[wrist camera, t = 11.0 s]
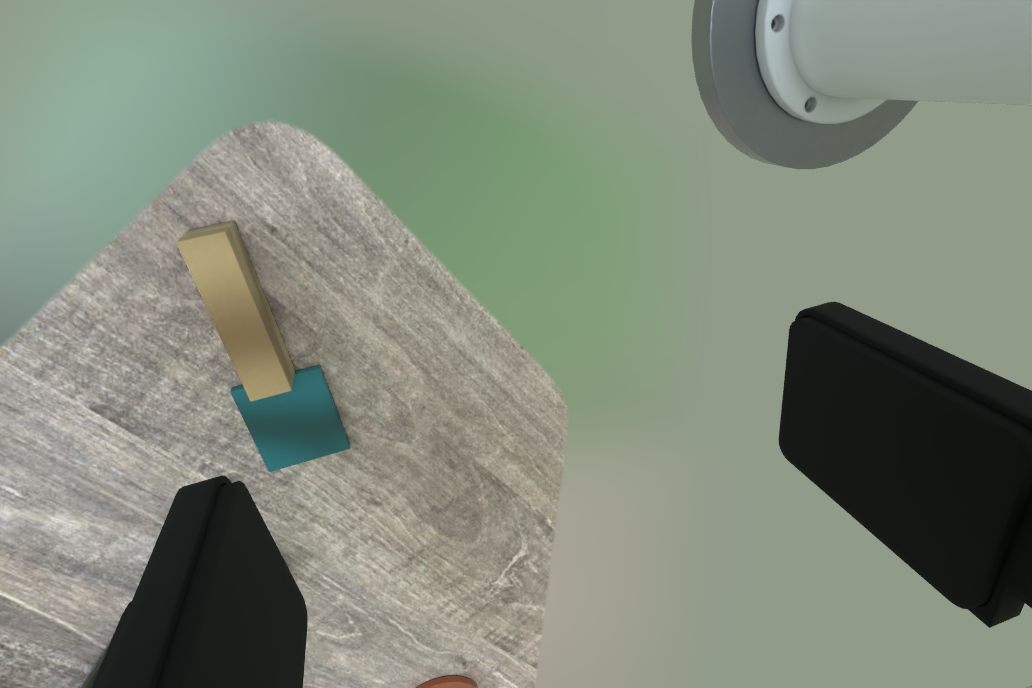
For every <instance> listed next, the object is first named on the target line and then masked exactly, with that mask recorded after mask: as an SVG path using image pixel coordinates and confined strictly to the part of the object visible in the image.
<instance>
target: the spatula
mask: <svg viewBox="0 0 1032 688" xmlns="http://www.w3.org/2000/svg"><path fill="white" fill-rule="evenodd" d="M176 243H177V246H178V248H179V250H180V252H181V254H182V256H183V258H184V261H185V263H186V265H187V267H188V269H189V271H190V273H191V276H192V278H193V280H194V282H195V284H196V286H197V288H198V290H199V293H200V295H201V297H202V299H203V301H204V303H205V305H206V308H207V310H208V312H209V314H210V316H211V318H212V320H213V323H214V325H215V327H216V329H217V331H218V333H219V335H220V338H221V340H222V342H223V344H224V346H225V348H226V350H227V353H228V355H229V357H230V359H231V361H232V363H233V365H234V368H235V370H236V372H237V374H238V376H239V378H240V380H241V382H242V385H241V386H237V387H233V388H232V389H231V394H232V396H233V398H234V400H235V403H236V405H237V407H238V409H239V411H240V413H241V415H242V417H243V419H244V421H245V423H246V425H247V427H248V429H249V431H250V434H251V436H252V438H253V440H254V442H255V444H256V446H257V448H258V450H259V452H260V454H261V456H262V458H263V460H264V463H265V465H266V467H267V469H268V471H269V472H271V471H274V470H277V469H281V468H284V467H288V466H291V465H295V464H298V463H302V462H305V461H309V460H312V459H315V458H319V457H322V456H326V455H329V454H333V453H336V452H340V451H343V450H346V449H349V448H350V443H349V440H348V438H347V435H346V432H345V430H344V427H343V424H342V422H341V419H340V416H339V414H338V411H337V409H336V406H335V403H334V401H333V398H332V395H331V393H330V390H329V387H328V385H327V382H326V380H325V377H324V374H323V372H322V369H321V366H320V365H317V366H313V367H309V368H306V369H302V370H298V371H295V369H294V366H293V364H292V361H291V359H290V356H289V354H288V351H287V349H286V346H285V344H284V341H283V339H282V337H281V334H280V332H279V329H278V327H277V324H276V322H275V319H274V317H273V314H272V312H271V309H270V307H269V305H268V302H267V300H266V297H265V295H264V292H263V290H262V287H261V285H260V282H259V280H258V278H257V275H256V273H255V270H254V268H253V265H252V263H251V260H250V258H249V255H248V253H247V250H246V248H245V246H244V243H243V241H242V238H241V236H240V233H239V231H238V228H237V226H236V223H235V221H228V222H224V223H219V224H214V225H209V226H205V227H200V228H195V229H191V230H189V231H188V232H187V233H185V234H184V235H183V236H182V237H181V238H180V239H179V240H178V241H177V242H176Z"/></svg>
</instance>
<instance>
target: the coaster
mask: <svg viewBox="0 0 1032 688" xmlns="http://www.w3.org/2000/svg"><path fill="white" fill-rule="evenodd" d="M417 688H478V686H477V685H476V683H475V682H474V681H472V680H471V679H469V678H466V677H463V676H444V677H440V678H436V679H433V680H430V681H428V682H426V683H424V684H422V685H420V686H418V687H417Z"/></svg>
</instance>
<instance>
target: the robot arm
mask: <svg viewBox="0 0 1032 688" xmlns="http://www.w3.org/2000/svg"><path fill="white" fill-rule="evenodd" d="M755 38H756V53H757V59H758V63H759V68H760V72H761V76H762V78H763V80H764V82H765V85H766V87H767V89H768V91H769V93H770V94H771V96H772V97H773V98H774V100H775V101H776V102H777V104H778V105H779V106H780V107H781V108H783V109H784V110H785V111H786V112H787V113H789V114H790V115H791V116H794V117H796V118H798V119H801V120H803V121H807V122H813V123H820V124H838V123H843V122H847V121H852V120H854V119H856V118H858V117H861V116H863V115H865V114H867V113H869V112H871V111H872V110H873V109H875V108H876V107H878V106H879V105H881V104H882V103H884V102H885V101H886V100H908V101H934V102H958V103H982V104H1007V105H1031V106H1032V0H759V3H758V8H757V18H756V29H755ZM779 446H780V449H781V451H782V453H783V455H784V456H785V458H786V459H787V460H788V461H789V462H790V463H792V464H793V465H794V466H795V467H796V468H797V469H798V470H800V471H801V472H802V473H803V474H804V475H805V476H806V477H808V478H809V479H810V480H811V481H812V482H814V483H815V484H816V485H817V486H818V487H819V488H820V489H821V490H823V491H824V492H825V493H826V494H827V495H828V496H830V497H831V498H832V499H833V500H834V501H835V502H836V503H838V504H839V505H840V506H841V507H842V508H843V509H844V510H846V511H847V512H848V513H849V514H850V515H852V517H854V518H855V519H856V520H857V521H858V522H859V523H861V524H862V525H863V526H864V527H865V528H866V529H868V530H869V531H870V532H871V533H872V534H873V535H874V536H875V537H877V538H878V539H879V540H880V541H881V542H882V543H884V544H885V545H886V546H887V547H888V548H889V549H891V550H892V551H893V552H894V553H895V554H896V555H897V556H898V557H900V558H901V559H902V560H903V561H904V562H905V563H907V564H908V565H909V566H910V567H911V568H912V569H914V570H915V571H916V572H917V573H918V574H919V575H921V577H923V578H924V579H925V580H926V581H927V582H928V583H930V584H931V585H932V586H933V587H934V588H935V589H936V590H938V591H939V592H940V593H941V594H942V595H943V596H945V597H946V598H947V599H948V600H949V601H950V602H952V603H953V604H955V605H956V606H958V607H960V608H963V609H968V610H969V611H970V612H972V613H973V614H974V615H975V616H976V617H977V618H979V619H980V620H981V621H982V622H983V623H985V624H986V625H987V626H988V627H989V628H990V627H992V626H995V625H997V624H999V623H1002V622H1004V621H1006V620H1009V619H1011V618H1013V617H1016V616H1018V615H1019V614H1020V613H1021V610H1022V608H1023V606H1024V604H1025V603H1026V604H1027V605H1028V606H1030V607H1031V608H1032V391H1031V390H1029V389H1026V388H1024V387H1022V386H1020V385H1018V384H1015V383H1013V382H1011V381H1009V380H1007V379H1005V378H1002V377H1000V376H998V375H996V374H994V373H992V372H989V371H987V370H985V369H983V368H980V367H978V366H976V365H974V364H972V363H969V362H968V361H965V360H963V359H961V358H959V357H956V356H954V355H952V354H950V353H948V352H946V351H944V350H941V349H939V348H937V347H935V346H933V345H930V344H928V343H926V342H924V341H922V340H919V339H917V338H915V337H913V336H911V335H909V334H906V333H904V332H902V331H900V330H898V329H895V328H893V327H891V326H889V325H887V324H885V323H882V322H880V321H878V320H876V319H874V318H871V317H869V316H867V315H865V314H862V313H860V312H858V311H856V310H854V309H852V308H850V307H847V306H845V305H843V304H841V303H837V302H828V303H825V304H821V305H818V306H814V307H811V308H807V309H804V310H802V311H800V312H799V313H798V315H797V316H796V319H795V321H794V322H793V323H792V324H791V326H790V329H789V339H788V350H787V360H786V370H785V380H784V390H783V401H782V412H781V422H780V432H779ZM306 636H307V609H306V604H305V601H304V598H303V596H302V594H301V592H300V590H299V588H298V586H297V584H296V582H295V580H294V578H293V576H292V575H291V573H290V571H289V569H288V567H287V565H286V563H285V561H284V559H283V557H282V555H281V553H280V551H279V549H278V547H277V546H276V544H275V542H274V540H273V538H272V536H271V534H270V532H269V530H268V528H267V526H266V524H265V522H264V520H263V518H262V516H261V515H260V513H259V511H258V509H257V507H256V505H255V503H254V501H253V499H252V497H251V495H250V493H249V491H248V489H247V488H246V486H245V484H244V483H242V482H241V481H237V482H234V483H231V481H230V480H229V479H228V478H227V477H226V476H219V477H215V478H212V479H208V480H205V481H201V482H198V483H194V484H191V485H187V486H184V487H182V488H180V489H179V490H178V492H177V494H176V496H175V498H174V501H173V503H172V506H171V508H170V510H169V513H168V515H167V518H166V520H165V523H164V525H163V527H162V530H161V532H160V535H159V537H158V540H157V542H156V544H155V547H154V549H153V552H152V554H151V557H150V559H149V561H148V564H147V566H146V569H145V571H144V574H143V576H142V578H141V581H140V583H139V586H138V588H137V590H136V593H135V595H134V598H133V600H132V601H131V602H130V603H129V604H128V606H127V607H126V609H125V611H124V613H123V614H122V616H121V619H120V621H119V624H118V626H117V628H116V631H115V633H114V635H113V638H112V640H111V643H110V645H109V647H108V650H107V652H106V654H105V657H104V659H103V662H102V664H101V666H100V669H99V671H98V674H97V676H96V678H95V681H94V683H93V685H92V688H303V676H304V663H305V649H306ZM1028 688H1032V686H1030V687H1028Z"/></svg>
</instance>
